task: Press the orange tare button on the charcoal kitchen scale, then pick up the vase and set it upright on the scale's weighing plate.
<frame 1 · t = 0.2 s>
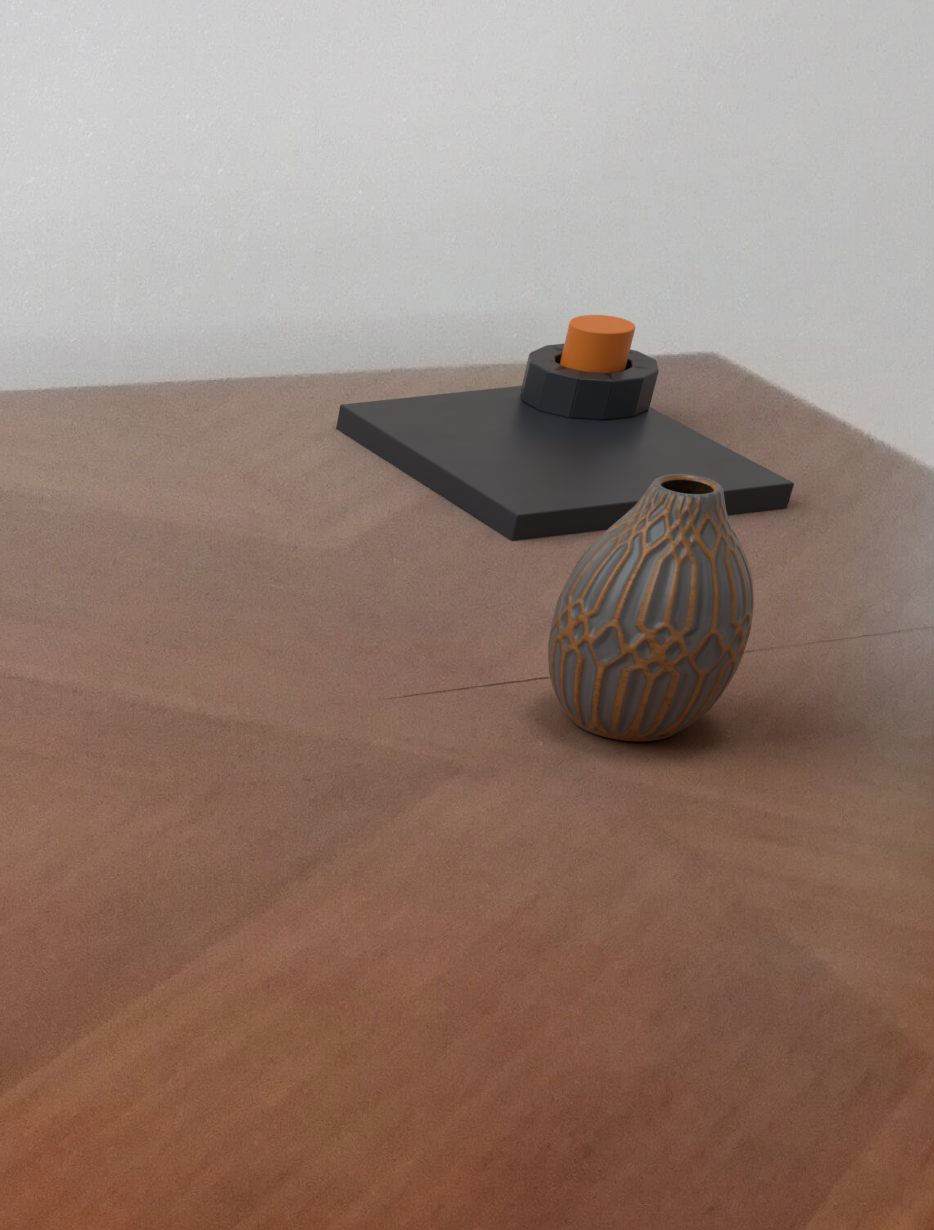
vase: (622, 726, 94), on the table
tare button: (597, 346, 117), point 4 cm above the table, slide at 0.1 cm
scale: (552, 468, 115), on the table
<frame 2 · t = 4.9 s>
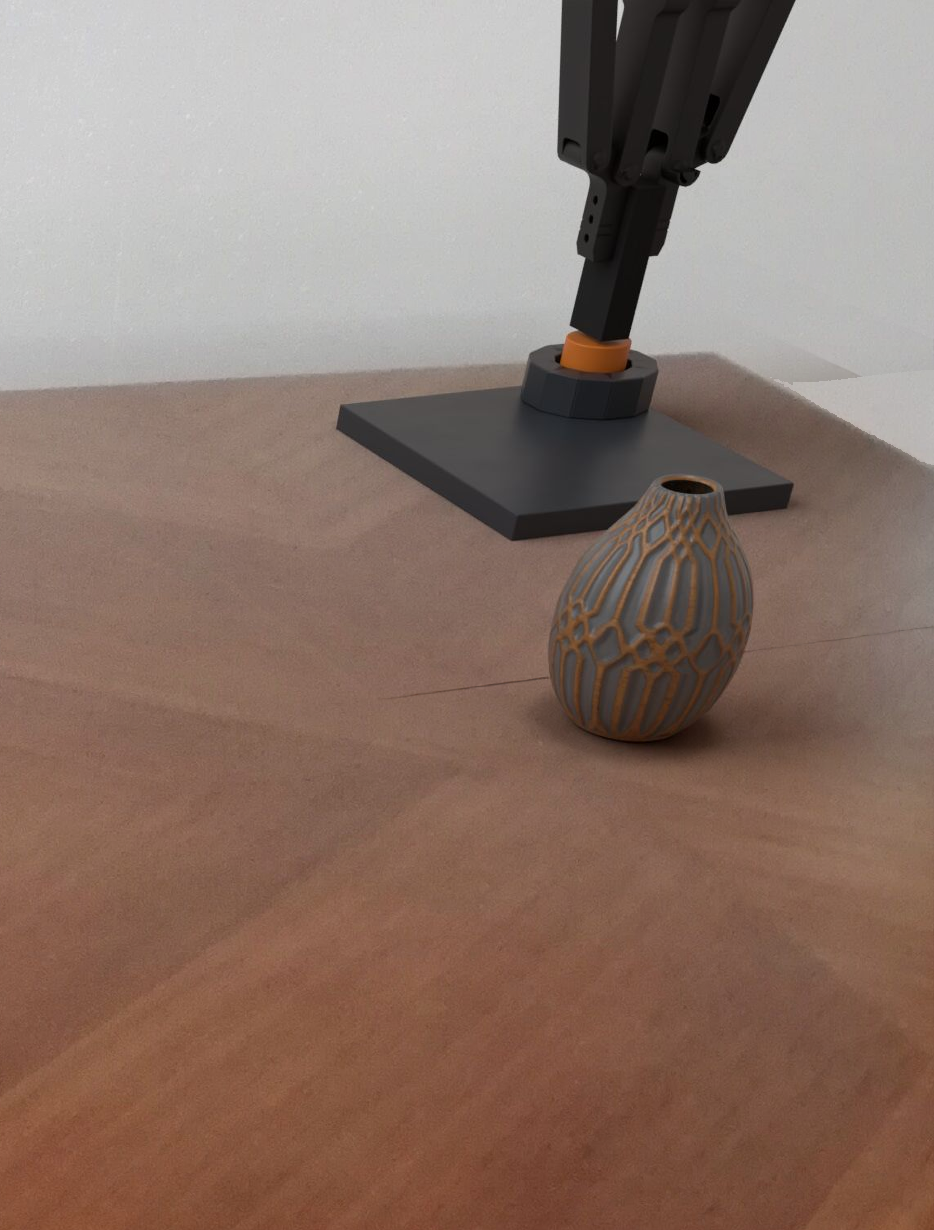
hand: (598, 331, 117), 4 cm above the table, tool pointing down, fingers closed
tare button: (593, 361, 118), point 3 cm above the table, slide at -0.5 cm, touching gripper
everything else where it was.
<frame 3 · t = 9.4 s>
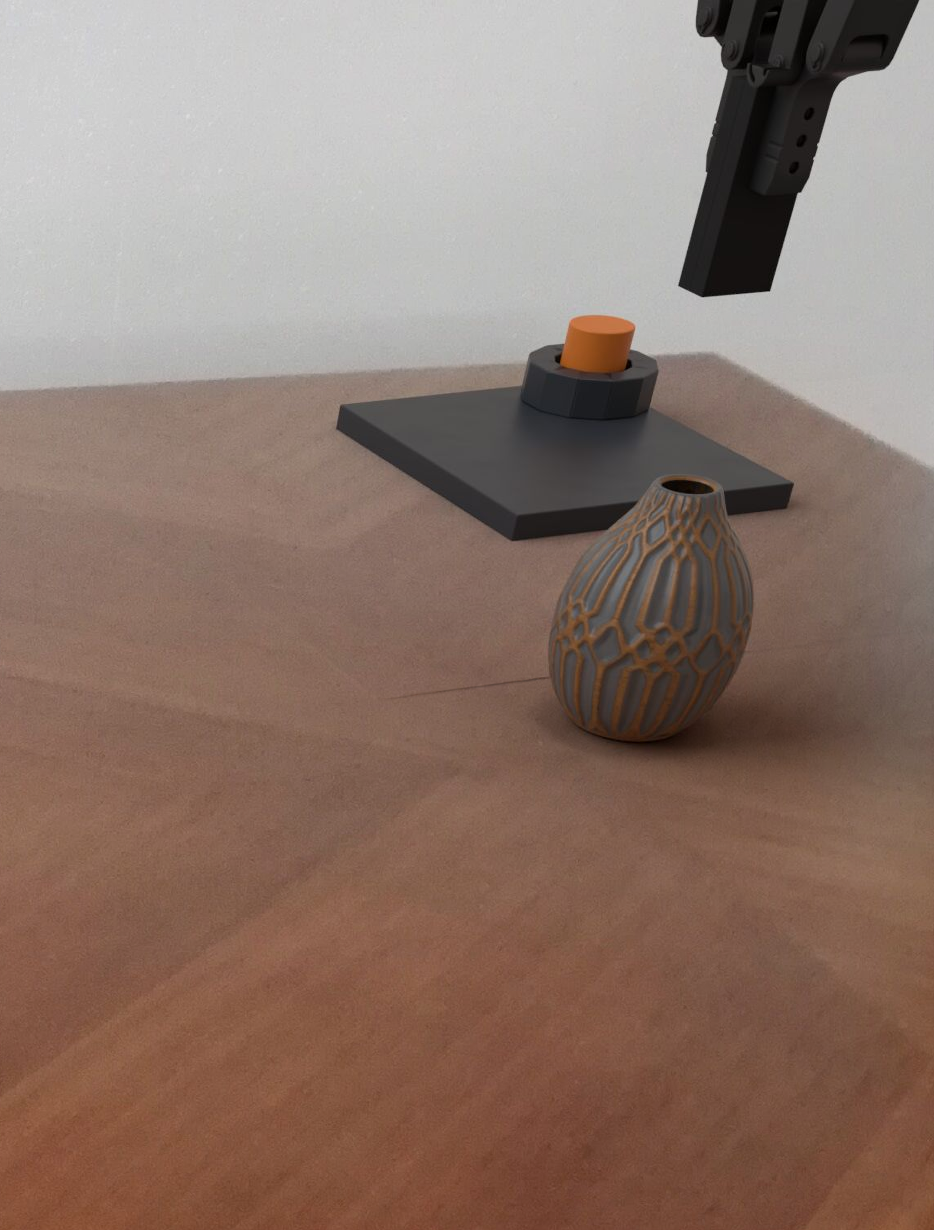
hand: (724, 288, 86), 15 cm above the table, tool pointing down, fingers closed
tare button: (597, 346, 117), point 4 cm above the table, slide at 0.1 cm
everything else where it was.
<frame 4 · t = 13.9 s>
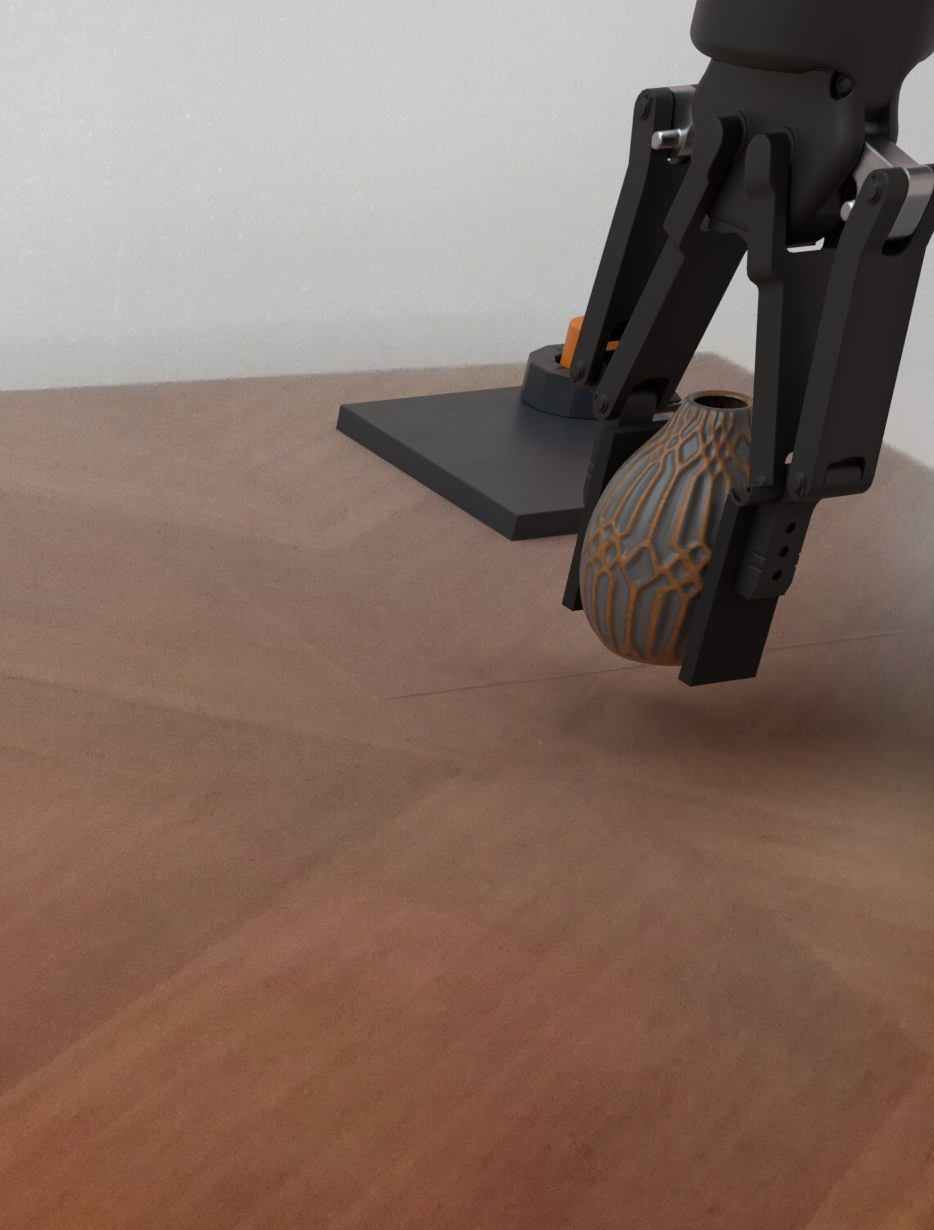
hand: (655, 638, 92), 3 cm above the table, tool pointing down, fingers closed on vase, 7 cm apart
vase: (656, 651, 92), point 3 cm above the table, touching gripper
everything else where it was.
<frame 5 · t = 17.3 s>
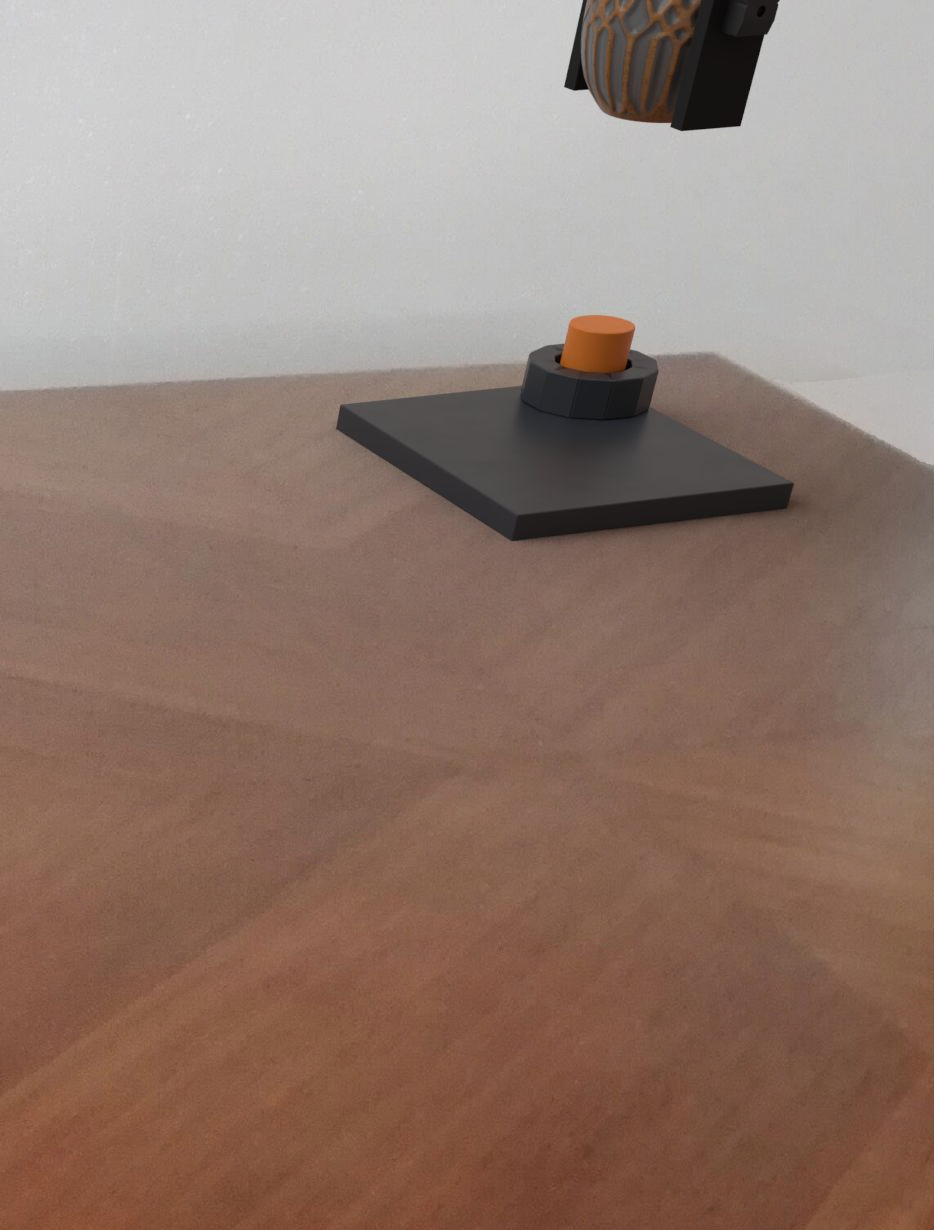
hand: (650, 105, 101), 16 cm above the table, tool pointing down, fingers closed on vase, 7 cm apart
vase: (650, 118, 101), point 16 cm above the table, touching gripper
everything else where it was.
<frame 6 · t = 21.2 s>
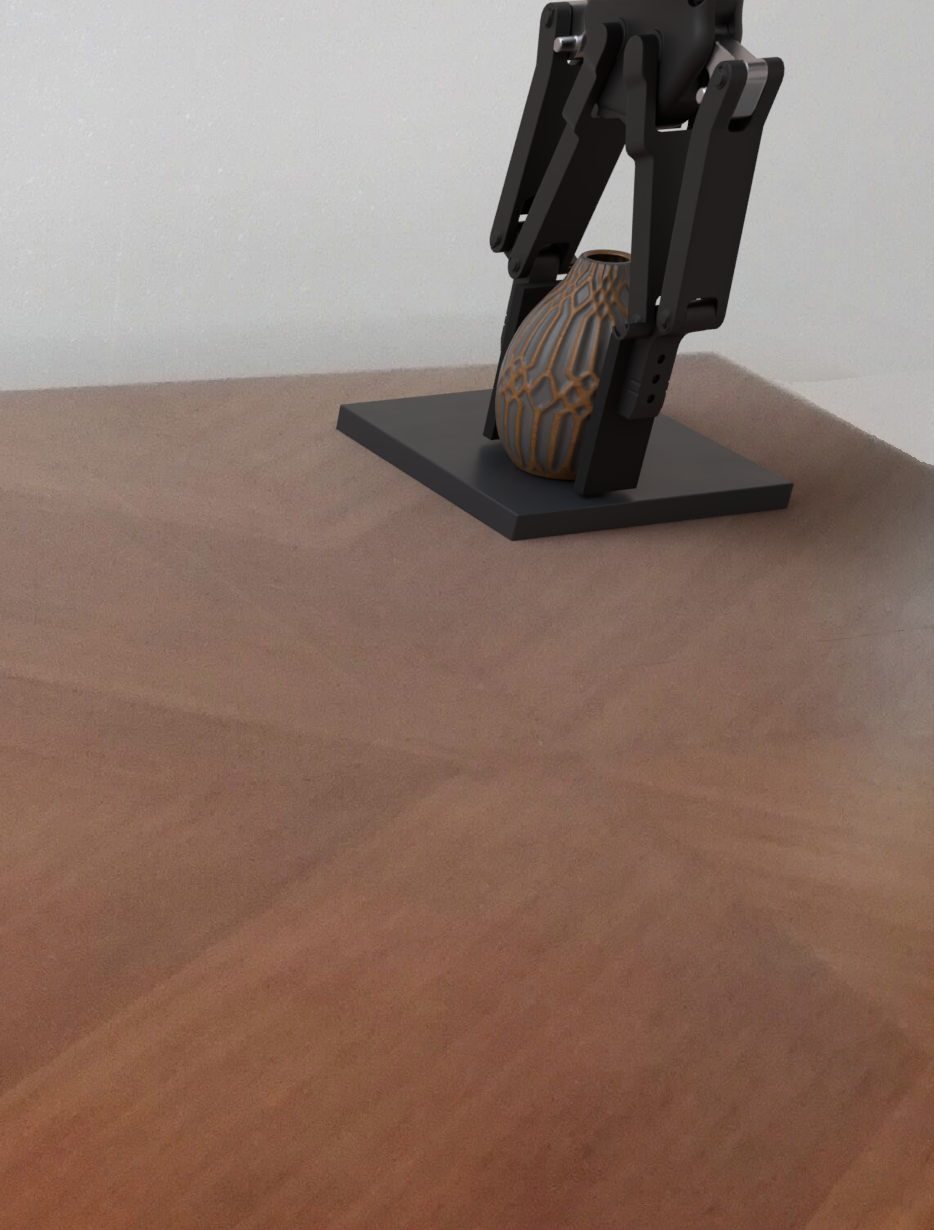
hand: (557, 460, 112), 1 cm above the table, tool pointing down, fingers closed on vase, 7 cm apart
vase: (558, 470, 112), point 1 cm above the table, touching gripper, scale
everything else where it was.
when the fingers open (1 cm above the table, at t = 21.2 s): vase stays where it is, resting on scale.
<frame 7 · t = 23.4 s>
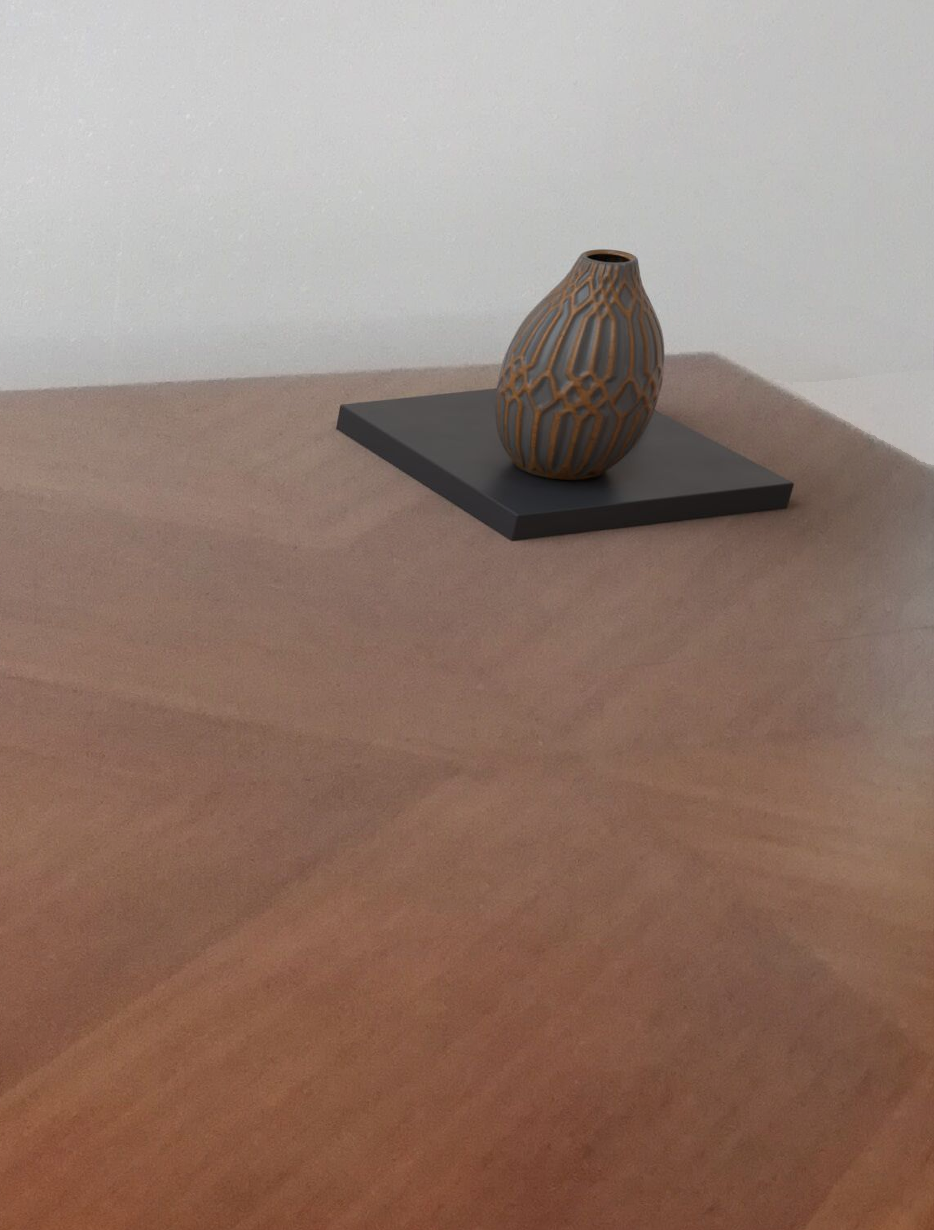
vase: (558, 470, 112), point 1 cm above the table, touching scale
everything else where it was.
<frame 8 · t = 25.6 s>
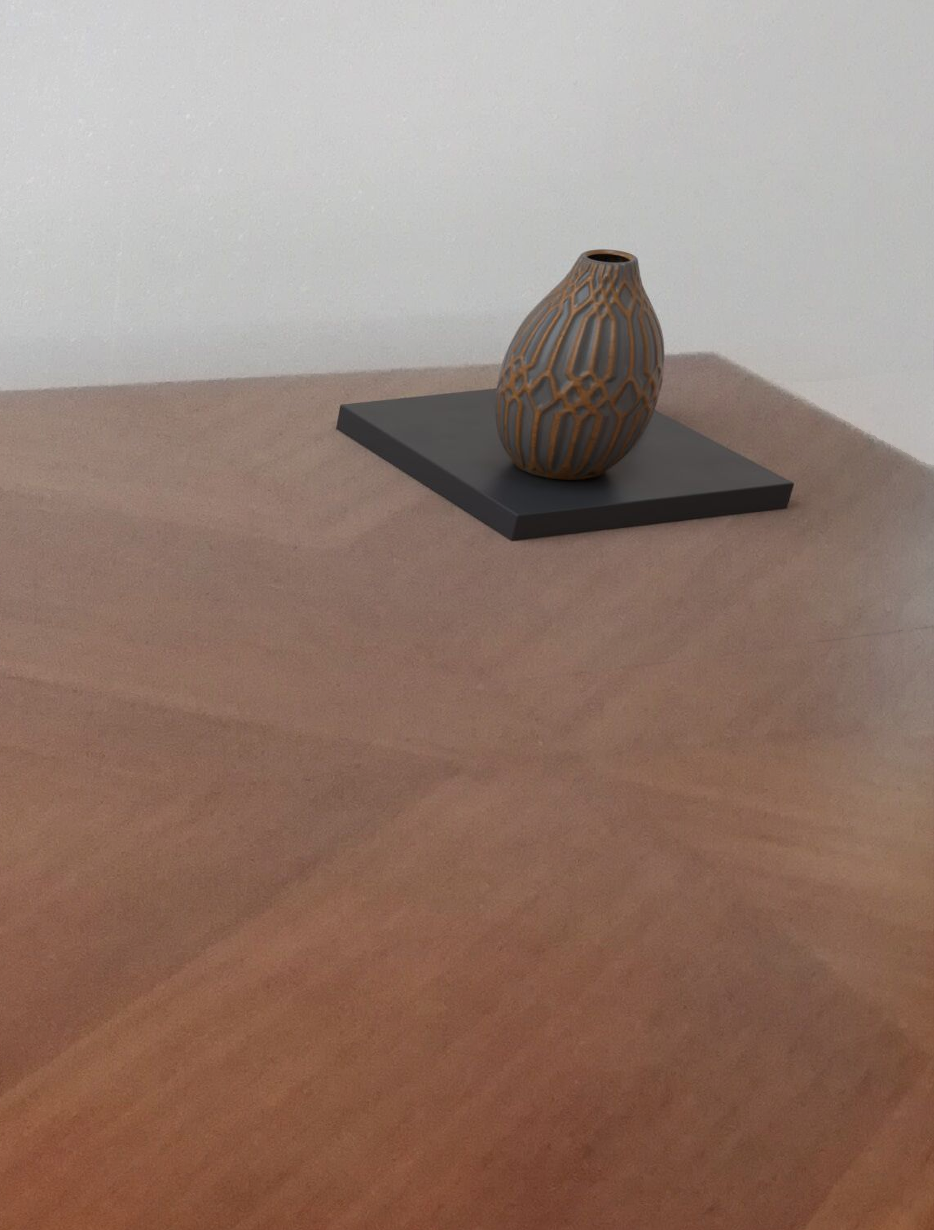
nothing on the table moved.
at the end: tare button pushed in 1.0 cm at the most during the clip, back to where it started at the end; vase inside the target area on the scale (3.5 cm from its centre), point 1.0 cm above the scale's base; vase touching scale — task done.
